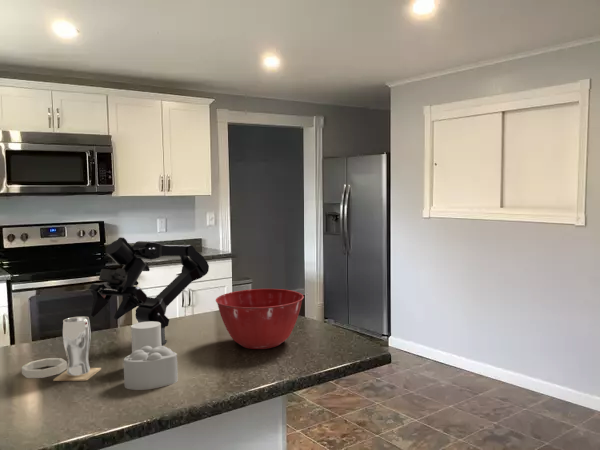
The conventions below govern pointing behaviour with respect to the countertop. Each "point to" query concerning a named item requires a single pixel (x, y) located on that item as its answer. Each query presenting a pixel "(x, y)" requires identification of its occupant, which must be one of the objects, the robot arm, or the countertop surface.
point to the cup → (146, 335)
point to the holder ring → (33, 372)
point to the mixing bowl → (260, 316)
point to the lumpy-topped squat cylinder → (150, 368)
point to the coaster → (79, 378)
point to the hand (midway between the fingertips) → (103, 317)
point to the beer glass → (77, 345)
